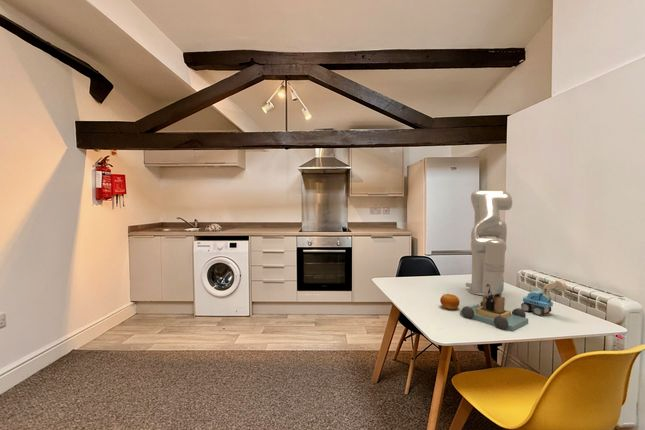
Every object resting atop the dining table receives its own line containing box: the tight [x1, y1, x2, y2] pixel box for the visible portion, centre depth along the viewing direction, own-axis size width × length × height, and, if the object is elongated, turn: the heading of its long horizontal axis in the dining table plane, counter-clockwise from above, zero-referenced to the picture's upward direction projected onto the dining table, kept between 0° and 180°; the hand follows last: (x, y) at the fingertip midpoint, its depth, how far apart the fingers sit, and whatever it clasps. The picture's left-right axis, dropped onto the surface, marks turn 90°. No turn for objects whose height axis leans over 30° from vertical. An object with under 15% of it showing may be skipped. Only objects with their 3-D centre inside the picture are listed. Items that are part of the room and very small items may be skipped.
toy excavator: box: [520, 279, 568, 317], centre depth 140 cm, size 9×17×17 cm, turn 27°
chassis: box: [459, 300, 529, 332], centre depth 134 cm, size 22×18×5 cm
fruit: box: [440, 293, 460, 310], centre depth 148 cm, size 8×8×8 cm
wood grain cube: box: [482, 295, 506, 313], centre depth 134 cm, size 7×5×6 cm
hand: (493, 308), depth 134 cm, fingers closed on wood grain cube, 5 cm apart
